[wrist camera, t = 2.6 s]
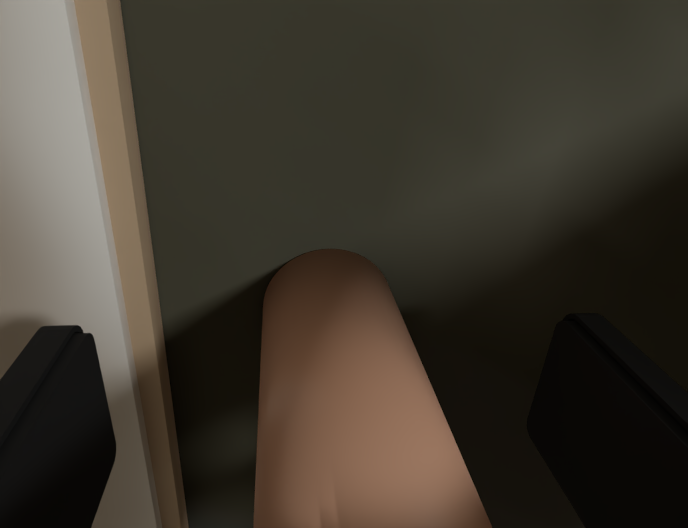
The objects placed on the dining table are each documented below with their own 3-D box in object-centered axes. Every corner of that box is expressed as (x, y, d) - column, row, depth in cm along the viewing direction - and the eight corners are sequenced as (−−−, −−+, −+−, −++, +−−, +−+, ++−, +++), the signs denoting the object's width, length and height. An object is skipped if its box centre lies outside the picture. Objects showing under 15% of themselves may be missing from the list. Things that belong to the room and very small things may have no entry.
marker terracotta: (402, 245, 11) (830, 1002, 3) (387, 360, 13) (630, 1087, 4) (257, 244, 11) (182, 1163, 2) (260, 364, 13) (224, 1196, 4)
